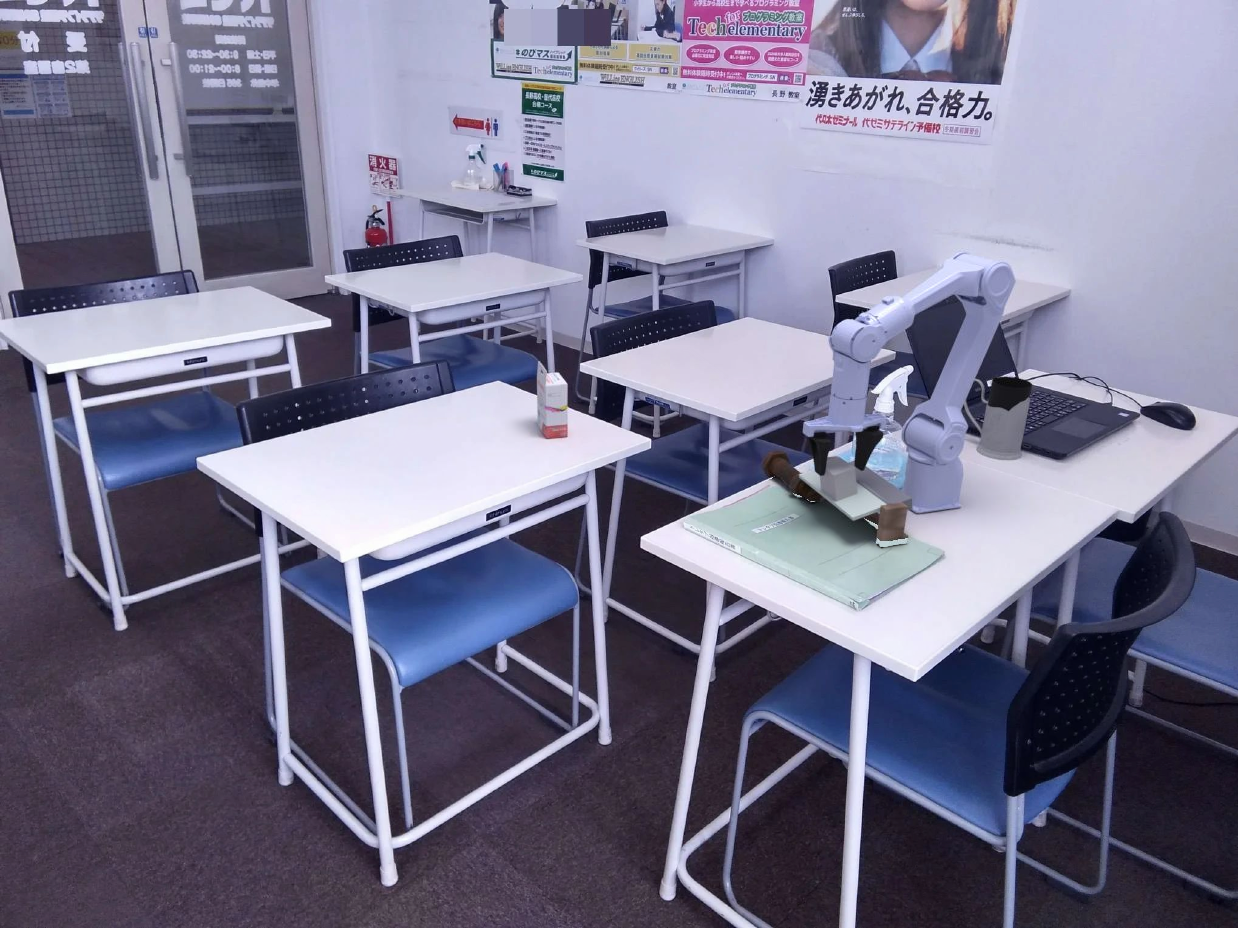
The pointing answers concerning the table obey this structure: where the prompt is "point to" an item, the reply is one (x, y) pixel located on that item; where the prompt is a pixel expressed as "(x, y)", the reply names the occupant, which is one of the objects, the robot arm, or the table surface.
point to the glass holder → (1003, 418)
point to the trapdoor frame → (888, 520)
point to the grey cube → (839, 479)
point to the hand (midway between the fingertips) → (839, 471)
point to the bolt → (788, 474)
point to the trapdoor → (862, 493)
